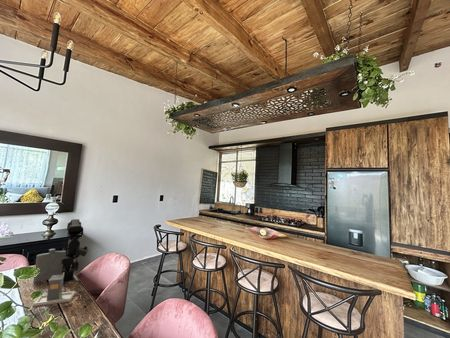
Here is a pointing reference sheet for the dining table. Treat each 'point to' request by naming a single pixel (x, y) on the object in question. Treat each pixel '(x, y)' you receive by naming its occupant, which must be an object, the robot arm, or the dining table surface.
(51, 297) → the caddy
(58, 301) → the tray
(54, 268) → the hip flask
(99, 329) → the dining table surface
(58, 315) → the dining table surface
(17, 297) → the dining table surface
